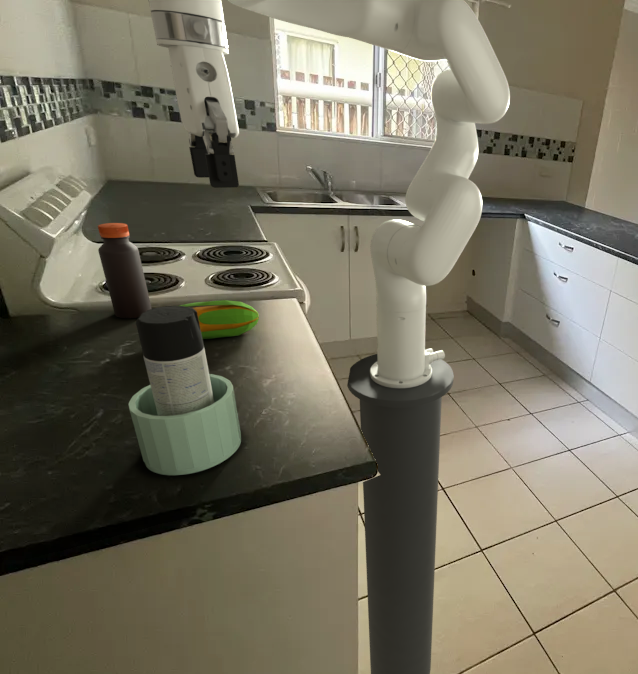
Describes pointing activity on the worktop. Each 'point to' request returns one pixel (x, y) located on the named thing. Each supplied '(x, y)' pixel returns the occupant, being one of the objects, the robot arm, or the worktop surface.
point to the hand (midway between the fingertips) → (216, 181)
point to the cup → (187, 432)
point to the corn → (224, 318)
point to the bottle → (123, 271)
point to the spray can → (175, 359)
